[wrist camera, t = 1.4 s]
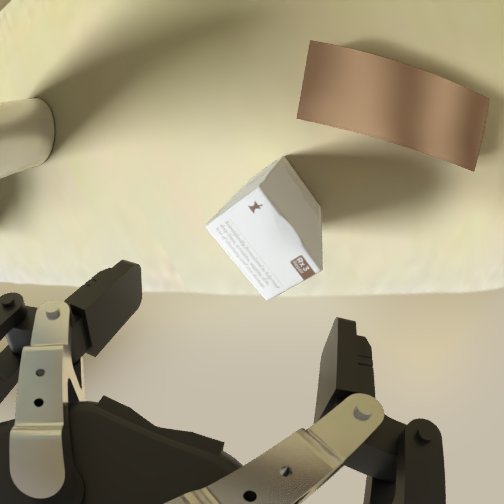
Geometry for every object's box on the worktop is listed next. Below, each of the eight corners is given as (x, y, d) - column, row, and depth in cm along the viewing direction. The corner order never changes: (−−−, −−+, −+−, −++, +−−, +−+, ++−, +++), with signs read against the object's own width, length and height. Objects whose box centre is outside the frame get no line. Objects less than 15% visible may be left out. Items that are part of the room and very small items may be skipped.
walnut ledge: (301, 118, 25) (296, 118, 20) (313, 53, 22) (310, 40, 18) (451, 161, 23) (474, 171, 19) (464, 99, 20) (489, 99, 16)
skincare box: (247, 181, 28) (195, 226, 18) (286, 152, 26) (256, 179, 16) (287, 234, 30) (260, 306, 19) (326, 208, 28) (324, 272, 17)
